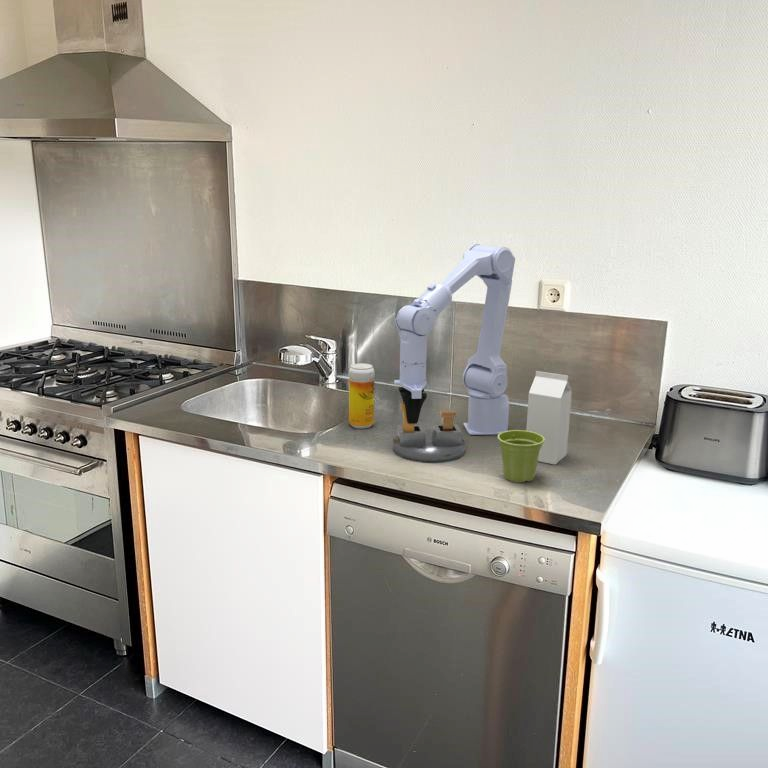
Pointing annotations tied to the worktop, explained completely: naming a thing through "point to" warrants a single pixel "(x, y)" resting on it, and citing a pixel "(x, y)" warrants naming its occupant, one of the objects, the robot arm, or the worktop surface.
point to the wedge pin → (406, 426)
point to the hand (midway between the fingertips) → (411, 421)
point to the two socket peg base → (431, 441)
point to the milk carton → (550, 414)
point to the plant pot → (520, 454)
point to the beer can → (361, 395)
